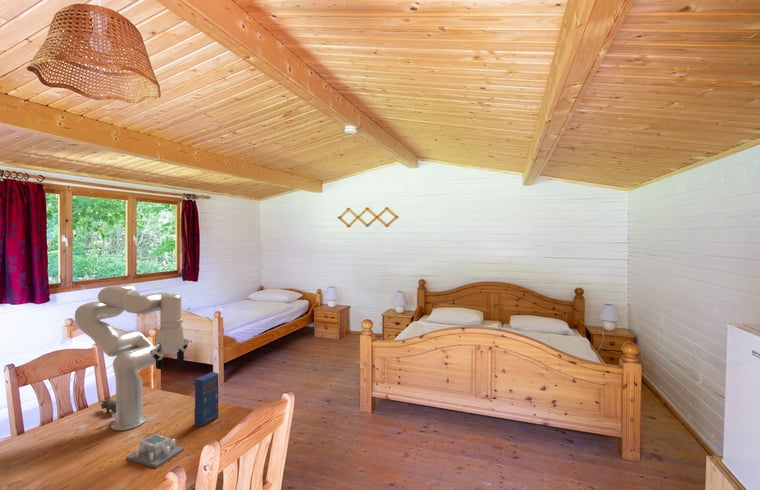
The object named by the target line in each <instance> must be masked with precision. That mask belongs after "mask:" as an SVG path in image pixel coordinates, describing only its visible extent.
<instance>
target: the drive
mask: <svg viewBox="0 0 760 490" xmlns="http://www.w3.org/2000/svg"><path fill="white" fill-rule="evenodd" d="M171 440H172V438H170V437H167V436H165V435H162V434H159V433H153V434H151V435H150V436H147V437H145V438H144V439H142V440H139V449H140V454H143V455H145V456H147V457H150V452H154V459H155V460H156V459H158V458H159V457H161V456H163V455H165V454H166V447H167V446H169V452H170V451H171Z"/></svg>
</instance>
